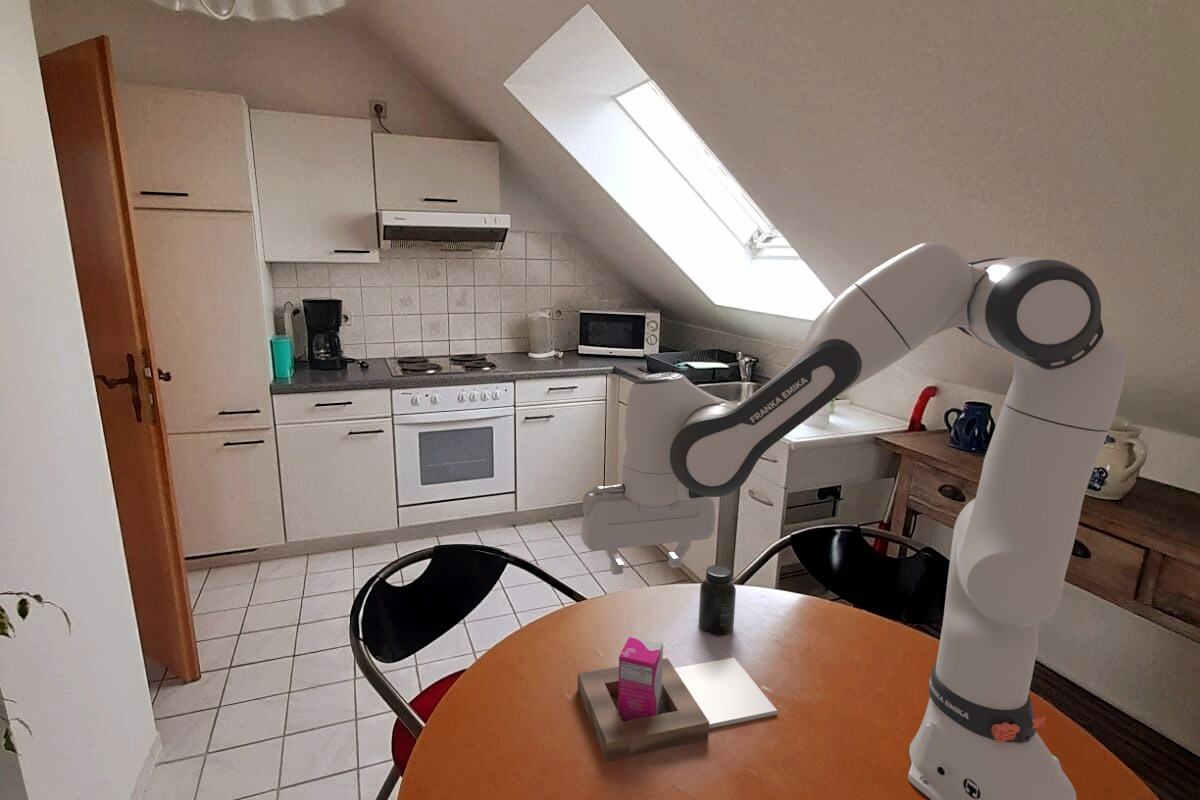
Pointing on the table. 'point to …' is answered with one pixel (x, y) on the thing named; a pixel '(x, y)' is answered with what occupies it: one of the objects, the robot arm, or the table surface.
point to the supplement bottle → (717, 601)
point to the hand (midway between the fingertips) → (646, 569)
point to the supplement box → (640, 679)
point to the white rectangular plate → (725, 692)
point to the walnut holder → (646, 732)
